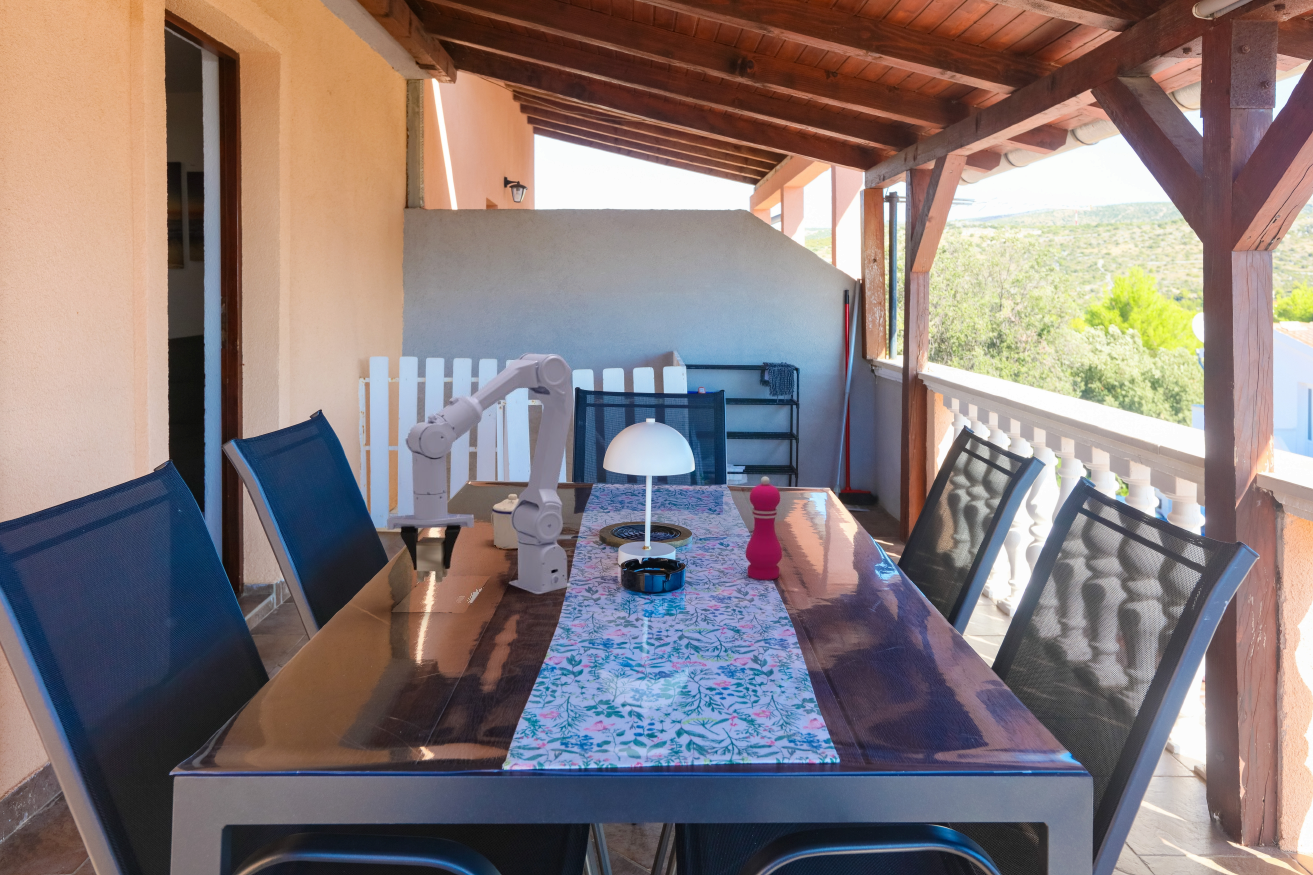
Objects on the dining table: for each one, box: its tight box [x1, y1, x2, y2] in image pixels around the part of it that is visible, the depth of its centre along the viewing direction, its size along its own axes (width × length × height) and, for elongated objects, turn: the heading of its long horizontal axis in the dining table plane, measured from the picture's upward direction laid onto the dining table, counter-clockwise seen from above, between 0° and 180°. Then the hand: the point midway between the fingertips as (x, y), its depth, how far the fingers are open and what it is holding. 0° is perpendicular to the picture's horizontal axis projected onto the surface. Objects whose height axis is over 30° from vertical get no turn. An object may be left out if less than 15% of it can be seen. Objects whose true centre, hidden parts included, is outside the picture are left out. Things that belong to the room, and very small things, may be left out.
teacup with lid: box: [490, 493, 519, 548], centre depth 199 cm, size 12×9×12 cm
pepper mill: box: [745, 476, 783, 581], centre depth 175 cm, size 7×7×20 cm
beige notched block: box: [416, 536, 448, 583], centre depth 155 cm, size 4×4×7 cm
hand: (432, 568), depth 155 cm, fingers closed on beige notched block, 5 cm apart
